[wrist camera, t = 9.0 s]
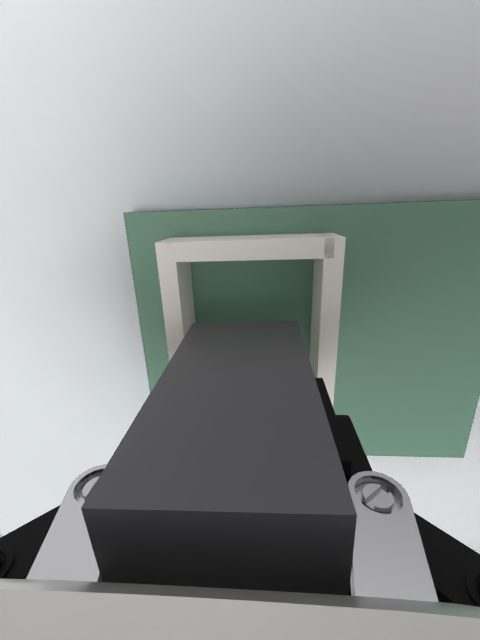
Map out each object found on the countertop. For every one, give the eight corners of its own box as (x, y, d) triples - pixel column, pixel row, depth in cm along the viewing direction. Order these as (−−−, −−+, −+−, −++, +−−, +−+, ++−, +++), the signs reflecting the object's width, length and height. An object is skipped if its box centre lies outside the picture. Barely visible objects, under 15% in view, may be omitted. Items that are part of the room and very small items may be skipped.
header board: (509, 198, 15) (585, 196, 11) (452, 443, 19) (493, 494, 16) (133, 212, 16) (97, 213, 13) (164, 437, 21) (144, 483, 17)
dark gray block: (297, 320, 12) (356, 515, 4) (295, 463, 14) (332, 753, 7) (192, 323, 12) (81, 508, 5) (207, 462, 14) (147, 738, 7)
